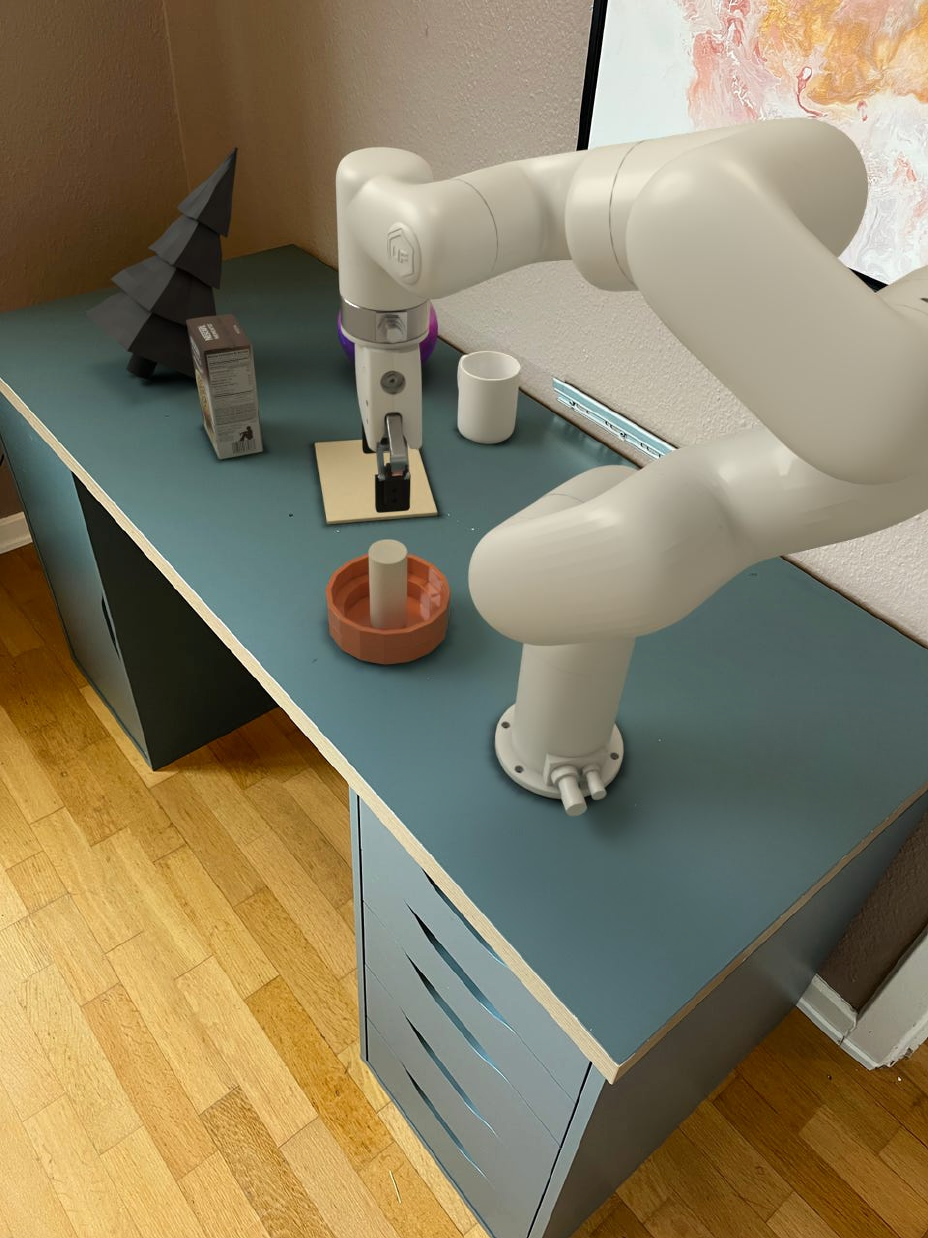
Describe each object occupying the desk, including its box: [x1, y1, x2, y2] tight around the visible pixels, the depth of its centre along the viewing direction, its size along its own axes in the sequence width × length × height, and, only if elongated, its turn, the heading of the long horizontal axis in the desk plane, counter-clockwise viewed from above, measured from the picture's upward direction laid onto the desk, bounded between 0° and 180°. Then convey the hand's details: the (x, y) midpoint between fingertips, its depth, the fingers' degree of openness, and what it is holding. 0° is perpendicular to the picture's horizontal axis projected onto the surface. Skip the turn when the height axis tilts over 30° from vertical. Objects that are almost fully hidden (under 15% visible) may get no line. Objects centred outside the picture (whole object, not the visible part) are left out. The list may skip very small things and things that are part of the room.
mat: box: [314, 439, 438, 525], centre depth 122 cm, size 18×14×1 cm
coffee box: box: [186, 313, 264, 460], centre depth 122 cm, size 9×6×16 cm
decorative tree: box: [84, 146, 239, 381], centre depth 133 cm, size 15×15×35 cm
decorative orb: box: [337, 300, 439, 368], centre depth 138 cm, size 15×15×15 cm
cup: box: [456, 350, 522, 445], centre depth 131 cm, size 8×12×10 cm
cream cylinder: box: [368, 539, 408, 631], centre depth 99 cm, size 4×4×10 cm
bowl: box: [325, 553, 451, 665], centre depth 101 cm, size 13×13×5 cm
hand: (385, 479), depth 89 cm, fingers open, 9 cm apart
